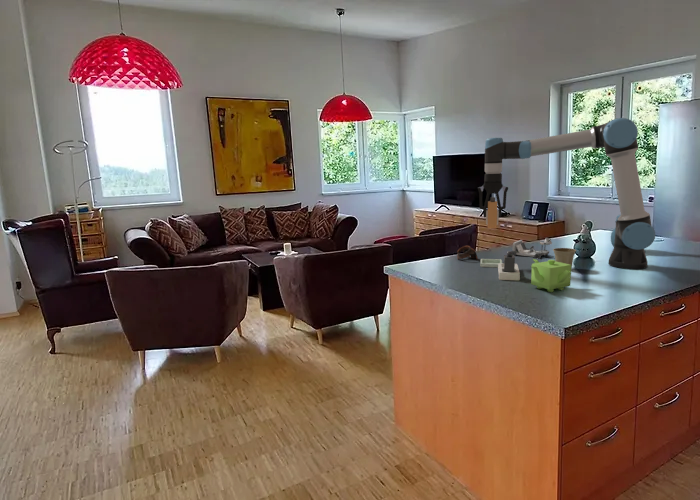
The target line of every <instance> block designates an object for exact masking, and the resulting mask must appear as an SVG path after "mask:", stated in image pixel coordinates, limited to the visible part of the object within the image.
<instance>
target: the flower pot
mask: <svg viewBox="0 0 700 500" xmlns="http://www.w3.org/2000/svg"><path fill="white" fill-rule="evenodd" d="M552 251H553V254H554V260H555V261H557V262H561V263H565V264H570V265H571V269H572V268H573V267H572V266H573V261H574V257H575V254H576V252H577V249H575V248H572V247H571V248H570V247H556V248H553V249H552Z"/></svg>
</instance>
